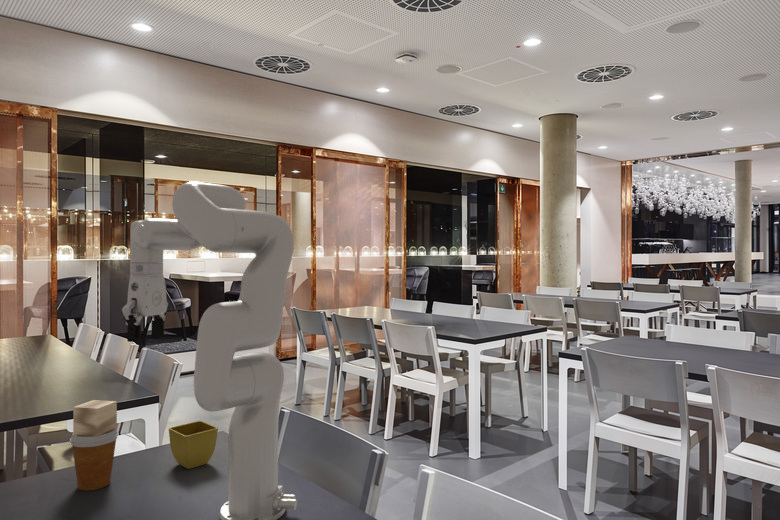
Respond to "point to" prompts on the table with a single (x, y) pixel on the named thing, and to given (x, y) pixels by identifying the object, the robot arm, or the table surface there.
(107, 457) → the disposable coffee cup
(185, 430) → the flower pot
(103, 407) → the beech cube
